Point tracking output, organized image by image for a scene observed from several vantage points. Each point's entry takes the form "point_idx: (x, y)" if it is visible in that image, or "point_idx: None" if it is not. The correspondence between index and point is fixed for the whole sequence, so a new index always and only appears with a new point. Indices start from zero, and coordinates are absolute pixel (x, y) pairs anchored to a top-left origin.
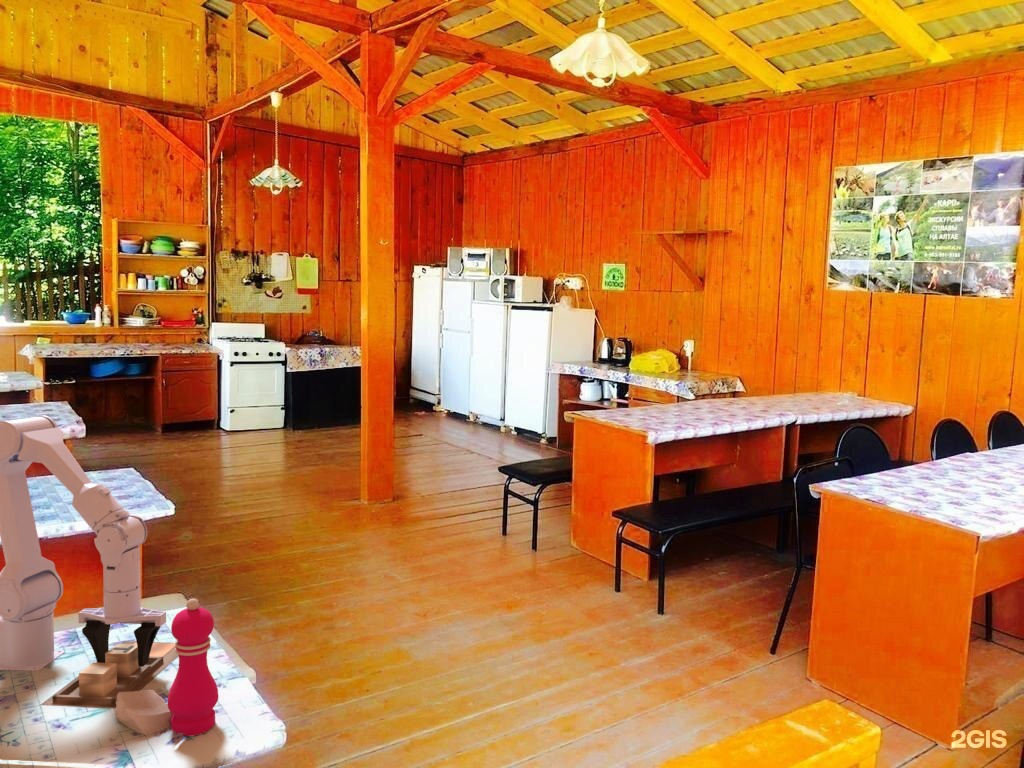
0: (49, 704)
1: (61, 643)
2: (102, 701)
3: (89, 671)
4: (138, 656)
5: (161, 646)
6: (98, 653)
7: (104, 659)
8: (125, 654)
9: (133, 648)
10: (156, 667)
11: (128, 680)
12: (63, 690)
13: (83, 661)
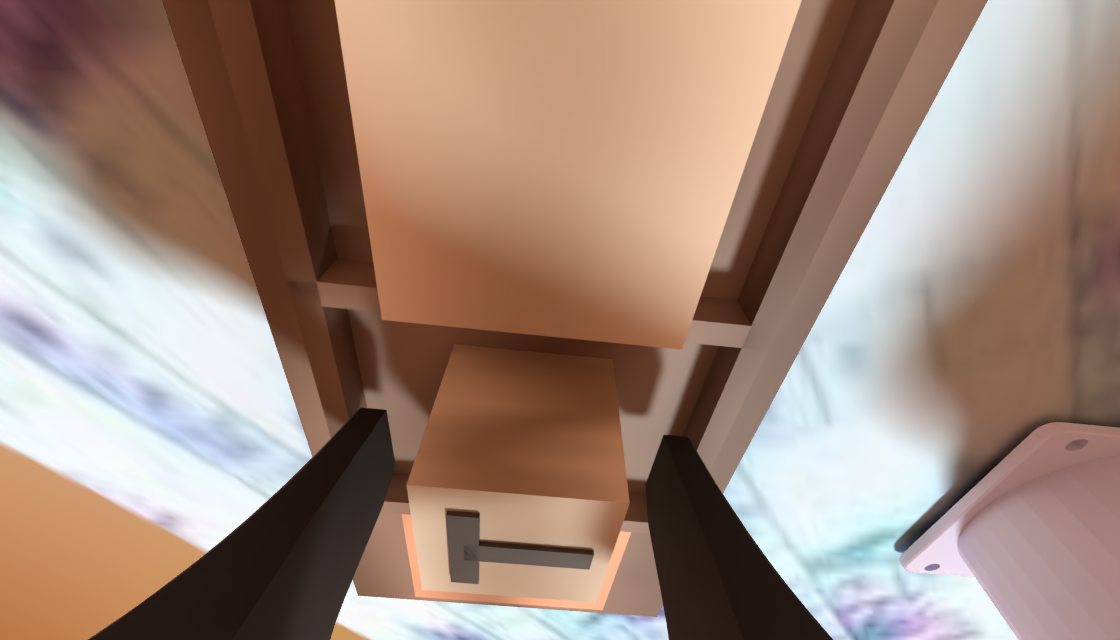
0: None
1: (916, 611)
2: None
3: (634, 56)
4: (337, 469)
5: None
6: (698, 509)
7: (657, 478)
8: (433, 484)
9: (430, 554)
10: None
11: None
12: (896, 6)
13: (797, 505)
